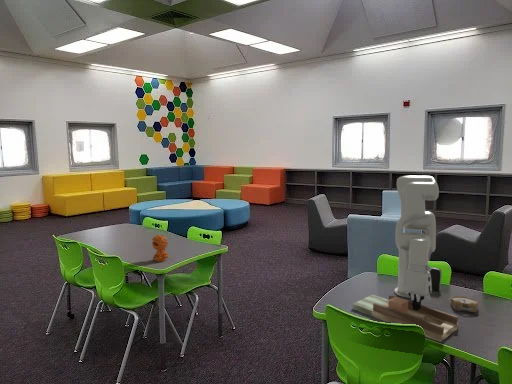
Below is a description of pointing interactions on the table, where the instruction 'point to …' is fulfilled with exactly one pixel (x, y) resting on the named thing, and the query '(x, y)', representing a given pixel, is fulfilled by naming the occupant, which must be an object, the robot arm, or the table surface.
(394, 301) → the block
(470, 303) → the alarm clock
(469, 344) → the table surface
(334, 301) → the table surface
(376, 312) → the track
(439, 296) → the table surface
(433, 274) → the battery charger
